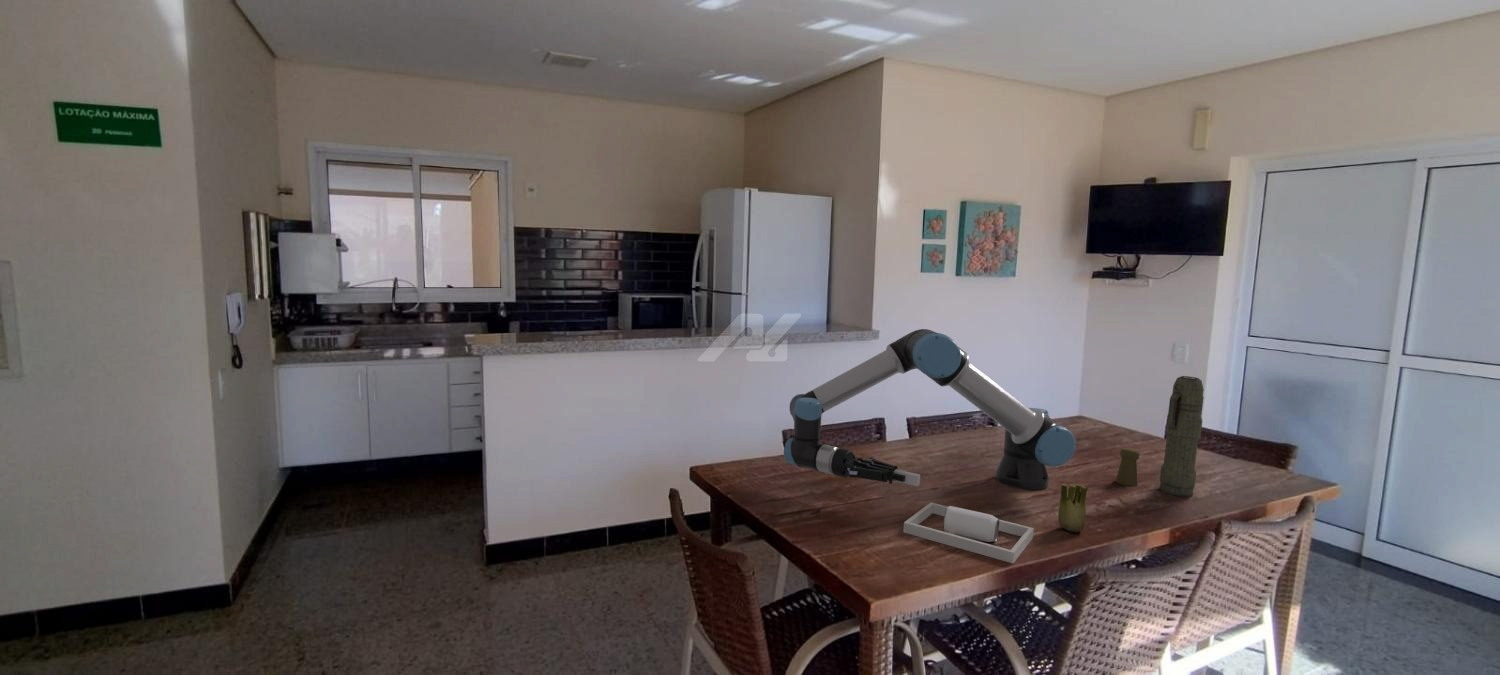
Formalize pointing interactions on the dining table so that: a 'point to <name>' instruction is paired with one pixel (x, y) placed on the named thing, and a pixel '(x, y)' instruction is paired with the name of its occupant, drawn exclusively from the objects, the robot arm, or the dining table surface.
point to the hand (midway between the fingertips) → (918, 480)
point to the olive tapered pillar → (1128, 467)
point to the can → (971, 524)
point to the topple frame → (965, 543)
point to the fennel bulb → (1072, 508)
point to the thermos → (1182, 437)
